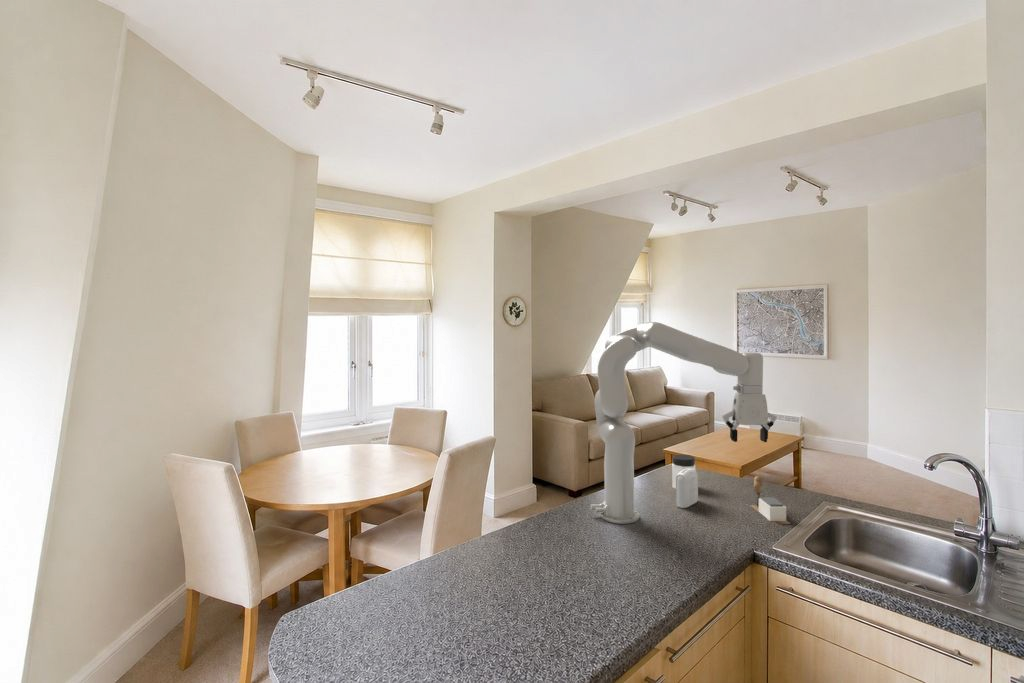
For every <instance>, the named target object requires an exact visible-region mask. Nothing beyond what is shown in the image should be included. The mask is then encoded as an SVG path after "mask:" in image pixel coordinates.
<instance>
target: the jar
mask: <svg viewBox="0 0 1024 683" xmlns="http://www.w3.org/2000/svg"><path fill="white" fill-rule="evenodd" d="M671 467H672V468H671V471H672V473H671V476H672V489H675V490H676V476H677V475H678V473H679V472H681V471H682V470H684V469H687V468H691V469H694V470H696V457H695V456H693V455H690V454H682V453H681V454H674V455H672V465H671Z"/></svg>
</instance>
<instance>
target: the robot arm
mask: <svg viewBox="0 0 1024 683" xmlns="http://www.w3.org/2000/svg"><path fill="white" fill-rule="evenodd" d="M604 346H605V347H604V351H603V352H602V354H601V356H600V358H599V361H598V364H597V382H598V390H597V391H596V392H595V395H594V410H595V411H594V412H595V419H596V426H597V431H598V434H599V437H600V439H601V440H602V441H603V442H604V446H605V447H604V460H603V470H604V471H603V472H604V473H603V474H604V478H603V479H604V500H602V502H600V503H598V504H596V503H591V504H590V510H591V511H595V513H599V514H600V518H601V519H602V520H604V521H606V522H609V523H613V524H618V525H619V524H623V525H625V524H632V523H636V522H637V521H638V520H639V519H640V513H639V511H638V510H635V469H634V468H635V467H634V466H635V465H634V464H635V462H634V459H635V449H636V437H635V432H634V430H633V429H632V427H631V426H630V425H629V424H628V423H626V422H625V419H624V415H625V414H626V413H627V411H628V408H629V401H628V397H627V389H626V381H625V380H626V379H625V370H626V366H627V364H628V363H629V361H630V360H633V358H635V356H636V355H637V352H640V351H643V350H646V348H652V349H654V350H657V351H660V352H662V353H664V354H668V355H669V356H673V357H676V358H678V359H680V360H683V361H687V362H689V363H695V364H700V365H703V366H706V367H711V368H712V369H713V370H714V371H715V372H717V373H719V374H723V375H727V376H733V377H737V381H736V385H734V386H733V387H732V389H733V390H734V391H736V393H735V394H734V397H733V401H732V402H733V403H732V410H731V411H729V412H726V413H725V414H723V415H722V416H721V417H722V419H723V422H724V423H725V425H726V426H727V427H728V428H729V429H730V430H729V437H730V439H731V441H732V442H735V443H737V442H738V431H739V430H737V429H738V427H739V426H741V425H743V426H760V427H761V428H760V432H759V438H760V441H761V442H764V443H768V439H769V430H770V429H771V427H772V426H774V424H775V422H776V421H777V416H776V415H774V414H772V413H770V412H768V402H767V401H768V400H767V396H766V394H764V393H763V392H764V391H763V388H764V387H763V383H764V382H763V380H764V378H763V377H764V356H763V354H761V353H760V352H752V351H751V352H746V351H745V352H739V351H737V350H734V349H731V348H729V347H725V346H724V345H721V344H717V343H715V342H713V341H712V342H711V341H708V340H706V339H703V338H702V337H698V336H694V335H692V334H689V333H687V332H684V331H681V330H679V329H677V328H674V327H671V326H669V325H666V324H664V323H662V322H657V321H651V322H644V323H641V324H639V325H636V326H634V327H631V328H628V329H626V330H623V331H621V332H618V333H616V334H613V335H611V336H610V337H609V338H607V339H606V342H605V345H604ZM730 418H731V420H732V421H730Z"/></svg>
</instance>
